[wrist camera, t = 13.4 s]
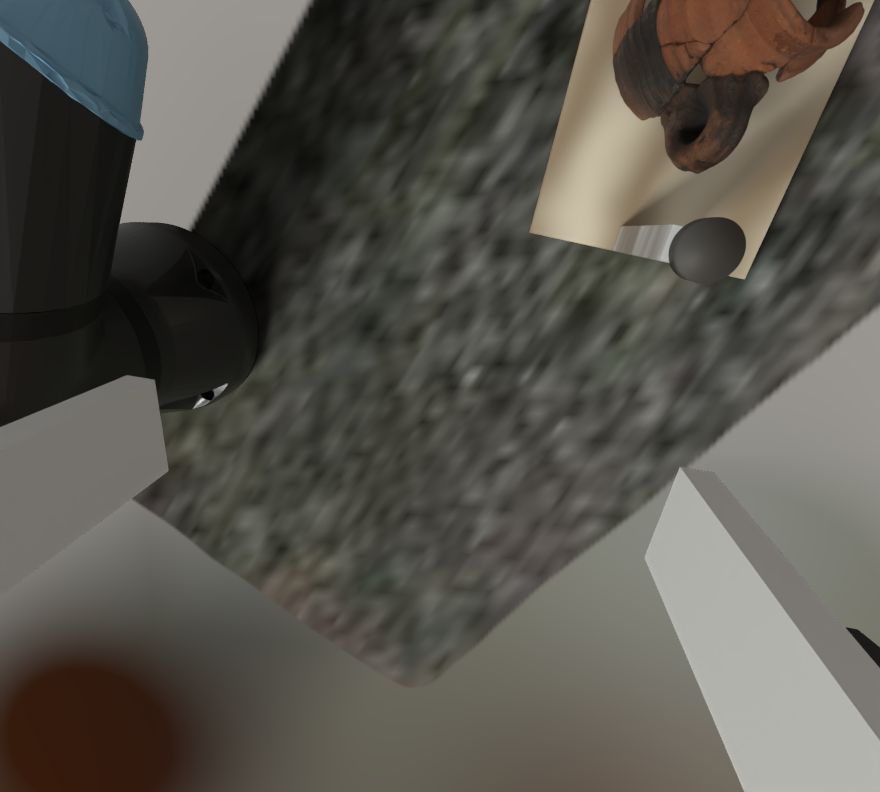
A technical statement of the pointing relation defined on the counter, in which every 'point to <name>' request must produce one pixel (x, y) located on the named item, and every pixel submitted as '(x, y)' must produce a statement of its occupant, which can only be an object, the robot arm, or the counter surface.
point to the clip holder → (657, 179)
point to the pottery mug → (716, 64)
